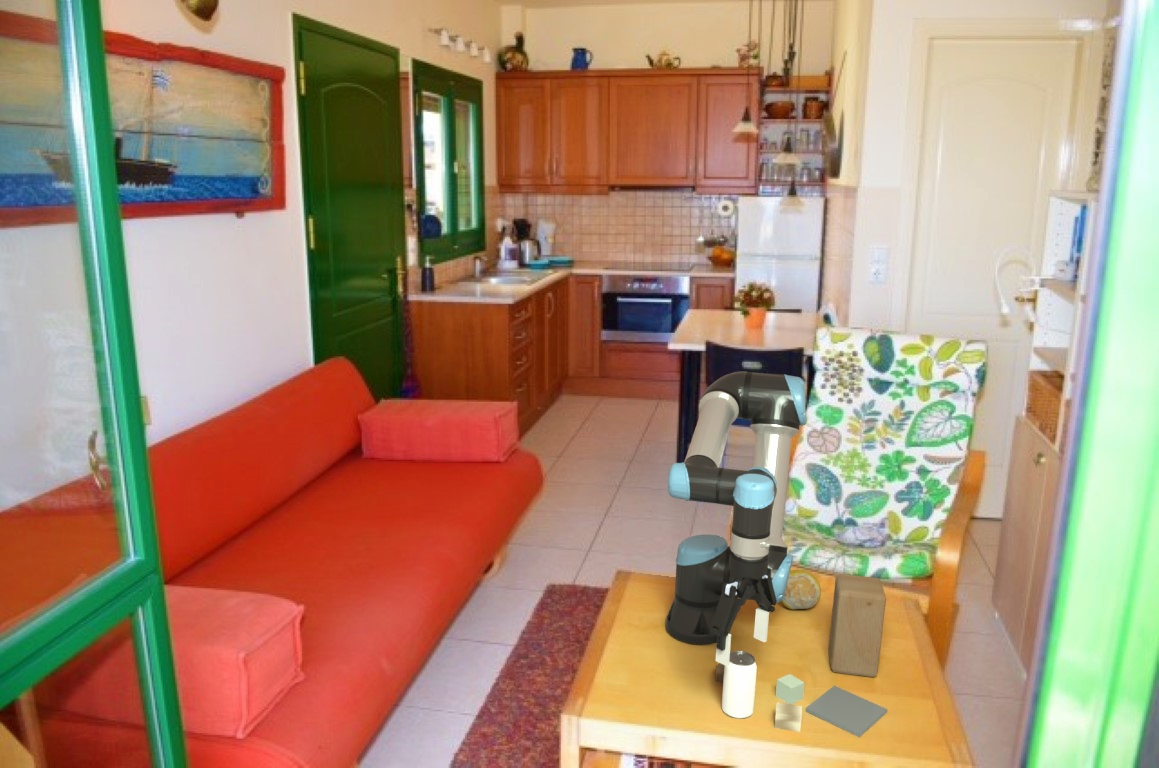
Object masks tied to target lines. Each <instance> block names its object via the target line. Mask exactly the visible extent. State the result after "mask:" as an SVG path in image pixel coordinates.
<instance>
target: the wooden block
mask: <svg viewBox="0 0 1159 768" xmlns="http://www.w3.org/2000/svg"><path fill="white" fill-rule="evenodd" d="M832 601H833V602H832V611H831V619H830V629H829V632H830V633H829V640H828V649H827V650H828V656H829V663H830V669H831V671H832V672H834V673H837V674H847V675H854V676H861V677H862V676H863V677H868V678H869V677H870V678H875V677H877V675H878V671H879V664H880V663H879V662H880V656H881V646H882V639H883V638H882V637H883V629H884V628H883V627H884V623H885V622H884V621H885V613H886V611H885V610H886V603H887V597H886V594H885V591H884V587H883V582H882V581H881V578H879V577H871V576H870V577H869V576H861V575H852V574H844V573H838V574H837V575H836V577H835V581H834V590H833V600H832Z"/></svg>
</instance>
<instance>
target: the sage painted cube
mask: <svg viewBox="0 0 1159 768" xmlns="http://www.w3.org/2000/svg"><path fill="white" fill-rule="evenodd" d="M804 692H805V682H804V681H802V680H801V679H799V678H797V677H796V676H795V675H793V674H790V673H789V674H786V675H784V676H782V677H780V678H777V679H776V688H775V697H777V698H778V699H780V700H781V701H783V703H784V702H785V704H791V705H795V703H798V702H800V701H802V700H804Z"/></svg>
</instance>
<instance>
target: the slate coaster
mask: <svg viewBox="0 0 1159 768" xmlns="http://www.w3.org/2000/svg"><path fill="white" fill-rule="evenodd" d="M805 712H806V713H809V714H810V715H813V716H814V717H816V718H818V719H821V720H823V721H825V722H826V723H830V724H831V725H833V726H836V727H837V728H840V729H841V730H844V731H845V732H847V733H850V734H852V735H854V736H856V737H858V738H860V737H861V736H863V735H864V734H865V733H866V732H867V731H868V730H870V729H871V727H872V726H874V725H875V724H876V723H877V722H878V721H879V720H880V719H882V718H883V717H884V716H885V715H886V714H887V713H888V708H886V707H883V705H882V706H881V705H879V704H877V703H874V702H872V701H870V700H868V699H867V698H864V697H862V696H859V695H856V694H855V693H852V692H850V691H849V690H848V691H847V690H845V689H843V688H841V687H839V686H837V685H833V686H832V687H831V688H829V689H828V690H827V691H825V692H824V693H823V694H821V695H820V696H819V697H817V698H816V699H815V700H814V701H813V702H811V703H810V704H809V705H807V706H806V707H805Z"/></svg>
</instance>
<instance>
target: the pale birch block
mask: <svg viewBox="0 0 1159 768" xmlns="http://www.w3.org/2000/svg"><path fill="white" fill-rule="evenodd" d="M802 717H803V706H802V705H798V704H792V705H791V704H787V703H786V702H785V703H784V702H778V701H777V702H776V705H775V717H774V729H780V730H784V731H785V730H786V731H791V732H797V733H801V727H802Z"/></svg>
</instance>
